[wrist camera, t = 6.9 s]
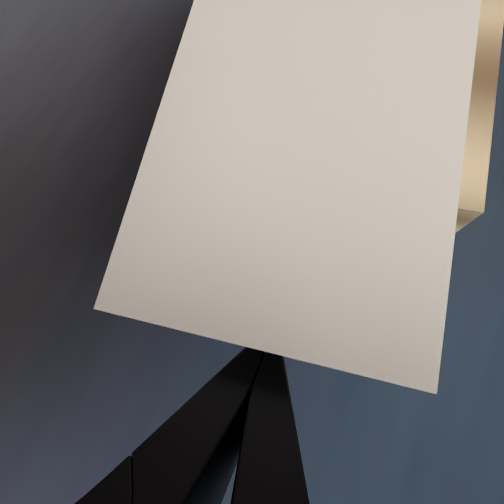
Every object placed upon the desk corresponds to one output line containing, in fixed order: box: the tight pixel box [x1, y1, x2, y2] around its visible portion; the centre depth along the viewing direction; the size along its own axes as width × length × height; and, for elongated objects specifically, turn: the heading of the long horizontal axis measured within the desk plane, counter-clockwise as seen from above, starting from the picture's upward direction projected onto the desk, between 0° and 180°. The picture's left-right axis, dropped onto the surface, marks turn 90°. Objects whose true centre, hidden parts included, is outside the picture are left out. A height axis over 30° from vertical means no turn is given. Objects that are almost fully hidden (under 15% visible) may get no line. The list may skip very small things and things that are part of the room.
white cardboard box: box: [94, 0, 482, 394], centre depth 12 cm, size 14×7×8 cm, turn 167°
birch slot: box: [455, 0, 504, 233], centre depth 15 cm, size 10×12×3 cm
